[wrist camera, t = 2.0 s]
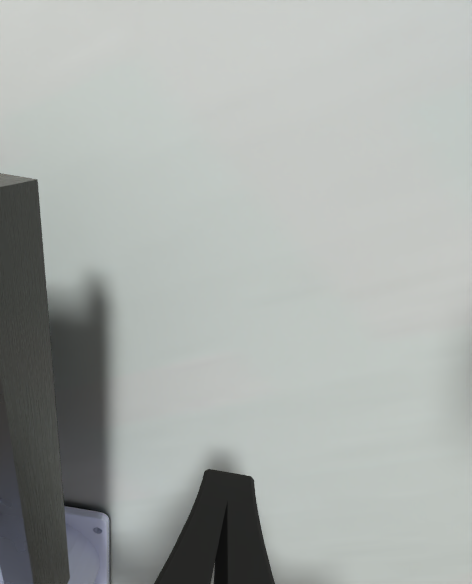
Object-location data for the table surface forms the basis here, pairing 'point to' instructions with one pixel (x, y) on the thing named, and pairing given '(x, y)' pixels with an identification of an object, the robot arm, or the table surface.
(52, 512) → the cooker lid
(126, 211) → the table surface
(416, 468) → the table surface
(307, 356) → the table surface
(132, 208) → the table surface
